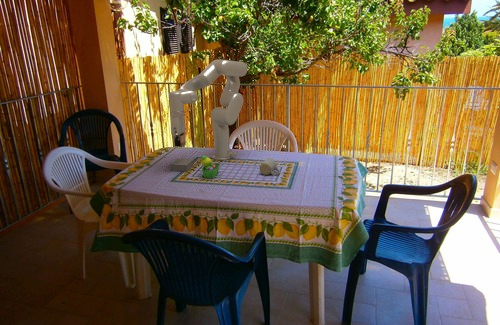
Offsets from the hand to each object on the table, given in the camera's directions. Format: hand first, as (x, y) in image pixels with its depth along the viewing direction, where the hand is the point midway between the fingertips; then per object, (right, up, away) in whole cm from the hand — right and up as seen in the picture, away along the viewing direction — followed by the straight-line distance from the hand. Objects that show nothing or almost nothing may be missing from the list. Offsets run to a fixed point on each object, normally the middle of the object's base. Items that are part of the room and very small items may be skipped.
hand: (179, 145), depth 215 cm
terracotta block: (0, 0, 0) cm, 1 cm away
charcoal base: (0, -13, +5) cm, 14 cm away
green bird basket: (+18, -17, -7) cm, 26 cm away
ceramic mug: (+51, -16, -7) cm, 54 cm away
